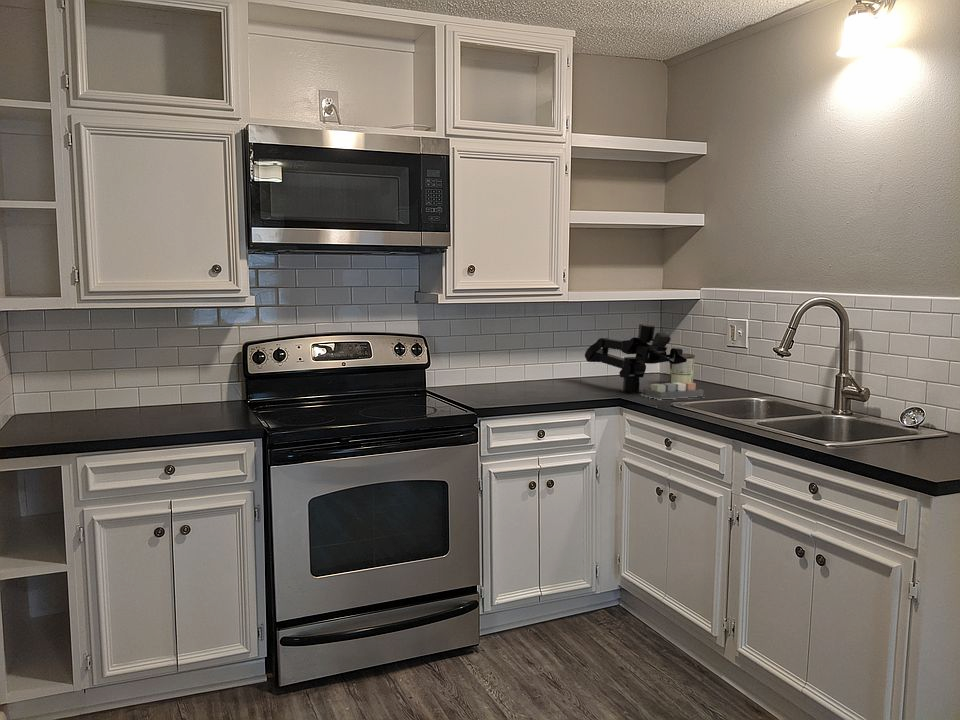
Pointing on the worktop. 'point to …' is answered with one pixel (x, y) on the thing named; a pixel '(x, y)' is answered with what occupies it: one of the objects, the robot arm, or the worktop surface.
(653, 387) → the key
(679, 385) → the key
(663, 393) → the keypad board
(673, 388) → the key
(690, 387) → the key
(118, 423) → the worktop surface
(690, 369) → the coffee can
